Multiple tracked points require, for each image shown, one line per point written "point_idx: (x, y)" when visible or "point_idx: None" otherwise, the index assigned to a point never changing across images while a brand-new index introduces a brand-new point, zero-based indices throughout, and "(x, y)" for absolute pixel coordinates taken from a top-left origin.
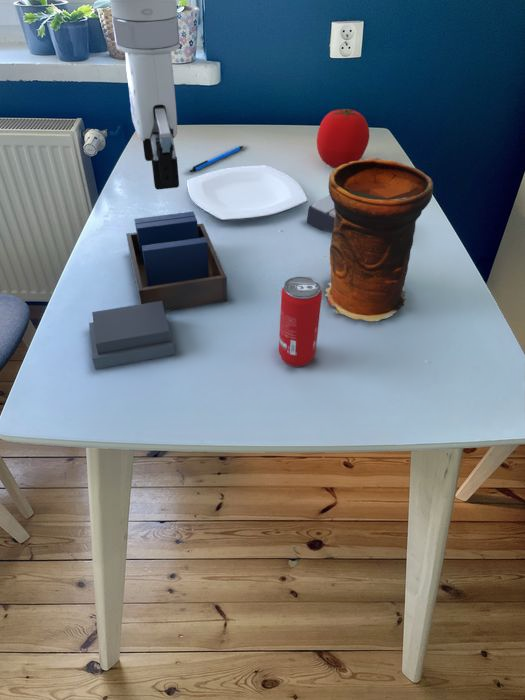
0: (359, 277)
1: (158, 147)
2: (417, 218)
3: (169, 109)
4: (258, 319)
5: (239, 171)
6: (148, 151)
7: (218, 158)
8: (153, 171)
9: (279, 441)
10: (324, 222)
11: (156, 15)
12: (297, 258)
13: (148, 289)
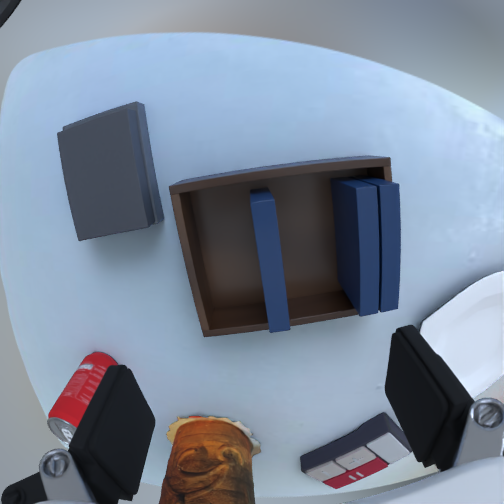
0: (169, 464)
1: (4, 500)
2: None
3: None
4: (166, 343)
5: None
6: (405, 364)
7: None
8: (87, 409)
9: (12, 321)
10: (361, 435)
11: None
12: (305, 401)
13: (172, 204)
